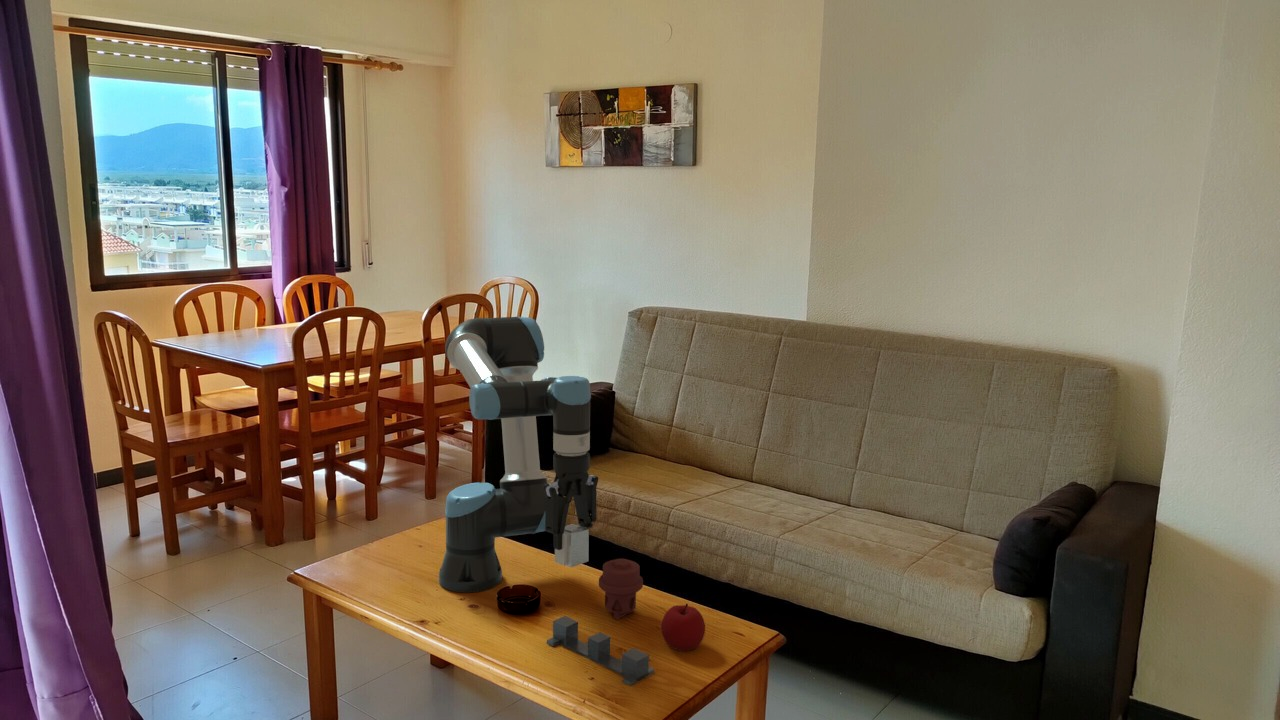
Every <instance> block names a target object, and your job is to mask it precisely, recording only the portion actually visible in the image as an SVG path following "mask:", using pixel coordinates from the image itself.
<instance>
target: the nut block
mask: <svg viewBox="0 0 1280 720" xmlns="http://www.w3.org/2000/svg"><path fill="white" fill-rule="evenodd" d="M577 525H578V524H574V523H571V524H567V525H565V529H564V533H565V534H567V565H565V566H566V567H569V568H574V567H576V566H579V565H582V564H585V563H587V562H589V556H590V555H589V551H590V550H589V542H590V541H589V537H590V534H589V533H590V531H589V530H590V528H589V529H587V528H584V527H580V526H577Z"/></svg>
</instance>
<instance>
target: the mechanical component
mask: <svg viewBox="0 0 1280 720" xmlns="http://www.w3.org/2000/svg"><path fill="white" fill-rule="evenodd" d="M640 572H641V571H640V565H639V563H637V562H636V561H633V560H630V559H626V558H615V559H611V560H609V561H606V562H604V563H603V565H602V574H601V575H600V576H599V577H598V587H599V588H600V589H601V591H603V592H604V608H605V609H606V610H607V611H609V612H611V613H613V617H614V619H615V620H620V619H622V618H623V617H624V616H625V615H627V614H632V613H634V611H635V609H636V605H637V604H636V603H637V602H636V601H637V593H638V592H639V591H640V590H641V589H643V586H644V579H643V577H642V576H641V575H640Z"/></svg>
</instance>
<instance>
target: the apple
mask: <svg viewBox="0 0 1280 720" xmlns="http://www.w3.org/2000/svg"><path fill="white" fill-rule="evenodd" d="M705 623H706V622H705V620H704V617H703V615H702V614H701V612H700V611H699V610H698V609H696V608H695V607H693V606H692V605H691V606H690V605H688V603H686V604H685V605H684V604H683V605H679V604H678V605H677V604H676V605H673V606H672V607H670V608H669V609H667V611H666V612H665V614H664V616H663V617H662V620H661V624H660V630H661V634H662V637H663V639H664V642H665V643H666V644H667V645H668V646H669V647H670V648H671V649H674V650H677V651H682V652H683V651H690V650H693V649H695V648H698V647H699V645H700V644H701V643H702V641H703V640H704V637H705V634H706V624H705Z"/></svg>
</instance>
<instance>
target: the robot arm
mask: <svg viewBox="0 0 1280 720" xmlns="http://www.w3.org/2000/svg"><path fill="white" fill-rule="evenodd" d="M444 350H445V355H446V358H447V360H448V361H449V363H450V365H451V366H452V367H453V368H454V369H456V370H459V372H460V373H461V375H462V376H463V377H464V379H465V382H466V383H467V384H468V387H469V388H470V389H469V398H468V399H469V400H468V401H469V408H470V409H469V410H470V412H471V416H472V417H473V418H474V419H476V420H489V421H492V420H499V419H500V421H501V429H502V430H501V431H502V432H501V434H502V445H503V446H502V447H503V457H504V459H503V460H504V471H505V472H504V474H503V477H502V478H501V479H500V480H499V487H500V488H495V486H494V485H493V484H492V483H489V482H472V483H466V484H461V485H460V486H457V487H456V488H453V490H451V491H450V492H449V493H448V495H446V499H445V509H444V515H445V553H444V555H443V556H444V557H443V559H442V563H441V567H440V569H439V571H438V583H439V585H440V586H441V587H443V589H446V590H447V591H451V592H457V593H476V592H478V593H479V592H483V591H487V590H490V589H492V588H495V587H496V586H498V585H499V584H500V583H501V582H502V578H503V570H502V567H501V563H500V560H499V557H498V554H497V552H496V549H495V546H496V545H495V539H497V538H501V537H511V536H512V537H513V536H519V535H520V536H521V535H527V534H528V535H529V534H530V535H534V534H536V533H542V532H547V533H550V534H552V536H553V540H552V541H553V542H552V543H553V549H554V562H555V563H557V564H559V565H563V566H566V565H567V534H565V533H564V529H565V526H566V524H567V518H568V512H569V508H570V503H572V500H573V501H574V502H573V503H574V508H575V511H576V512H575V513H576V517H577V524H576V525H577V526H580V527H584V528H587V529H589V530H590V528H592V527H593V525H594V523H595V522H596V521H597V486H598V482H599V476H597V475H593V474H589V472H588V471H589V470H590V467H591V463H590V461H591V460H590V459H591V455H590V453H589V451H590V450H591V449H590V448H591V445H590V444H591V442H590V441H591V440H590V439H591V435H590V434H591V428H590V427H591V399H592V394H591V385H590V384H591V383H590V380H589V379H588V378H587V377H584V376H578V375H565V376H564V375H562V376H559V377H555V376H549V377H548V376H547V377H544V378H541V380H534V378H533V376H534V374H535V373H536V372H537V370H538V369H539V366H538V365H539V363H541V362H543V360H544V358H545V352H544V351H545V342H544V337H543V333H542V330H541V328H540V325H539V324H538V322H537V321H536V319H534V318H531V317H524V316H523V317H522V316H508V317H507V316H505V317H502V316H501V317H474V318H471V319H468V320H465V321H463V322H461V323H460V324H458V325H457V326H455V327H454V328H453V329H452V331H450V333H449V335H448V336H447V339H446V341H445V346H444ZM540 416H541V417H542V416H552V417H553V418H552V419H553V420H552V421H553V428H552V429H553V430H552V431H553V432H552V433H553V434H552V435H553V436H552V439H553V440H552V442H553V444H552V445H553V448H552V450H553V451H554V453H553V458H552V459H553V462H552V464H553V467H552V469H553V470H554V473H555V477H554V479H553V483H550V482H548V478H547V476H546V475H545V474H544V473H543V472H542V471H541V466H540V465H541V464H540V453H539V443H538V442H539V439H538V427H537V426H538V425H537V418H536V417H540Z"/></svg>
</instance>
